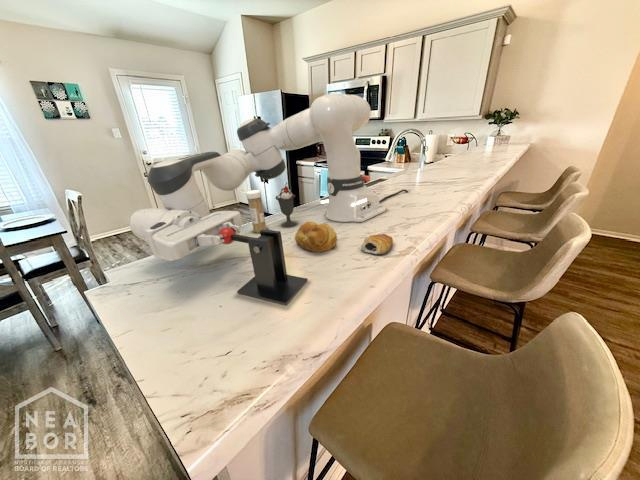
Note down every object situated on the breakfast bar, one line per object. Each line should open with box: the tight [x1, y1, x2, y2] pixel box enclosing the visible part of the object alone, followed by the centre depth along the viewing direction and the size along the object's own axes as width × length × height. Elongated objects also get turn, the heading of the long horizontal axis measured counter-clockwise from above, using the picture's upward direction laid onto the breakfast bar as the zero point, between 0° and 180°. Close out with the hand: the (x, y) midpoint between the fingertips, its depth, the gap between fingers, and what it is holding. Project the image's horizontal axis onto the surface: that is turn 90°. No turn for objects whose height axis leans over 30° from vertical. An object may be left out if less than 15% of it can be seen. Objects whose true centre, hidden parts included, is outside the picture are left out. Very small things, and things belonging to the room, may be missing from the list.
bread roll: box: [294, 221, 338, 254], centre depth 73 cm, size 13×10×8 cm
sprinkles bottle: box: [245, 189, 268, 234], centre depth 86 cm, size 5×5×13 cm
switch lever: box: [218, 227, 275, 250], centre depth 54 cm, size 13×4×4 cm, turn 65°
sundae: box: [275, 181, 297, 228], centre depth 89 cm, size 7×7×15 cm
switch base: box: [236, 229, 309, 307], centre depth 54 cm, size 12×9×13 cm
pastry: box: [360, 233, 394, 255], centre depth 70 cm, size 9×7×4 cm
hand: (229, 235), depth 55 cm, fingers closed on switch lever, 3 cm apart
